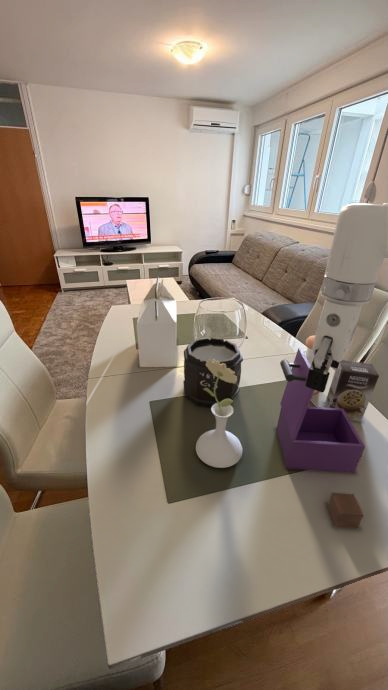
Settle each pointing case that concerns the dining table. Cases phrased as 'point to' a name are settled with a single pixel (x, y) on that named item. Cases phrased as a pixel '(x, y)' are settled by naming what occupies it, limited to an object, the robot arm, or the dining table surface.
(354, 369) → the coffee box
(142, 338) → the gable box
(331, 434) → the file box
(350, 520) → the block
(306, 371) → the lid
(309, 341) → the pepper shaker
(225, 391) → the black pot
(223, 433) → the flower in vase
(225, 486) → the dining table surface
